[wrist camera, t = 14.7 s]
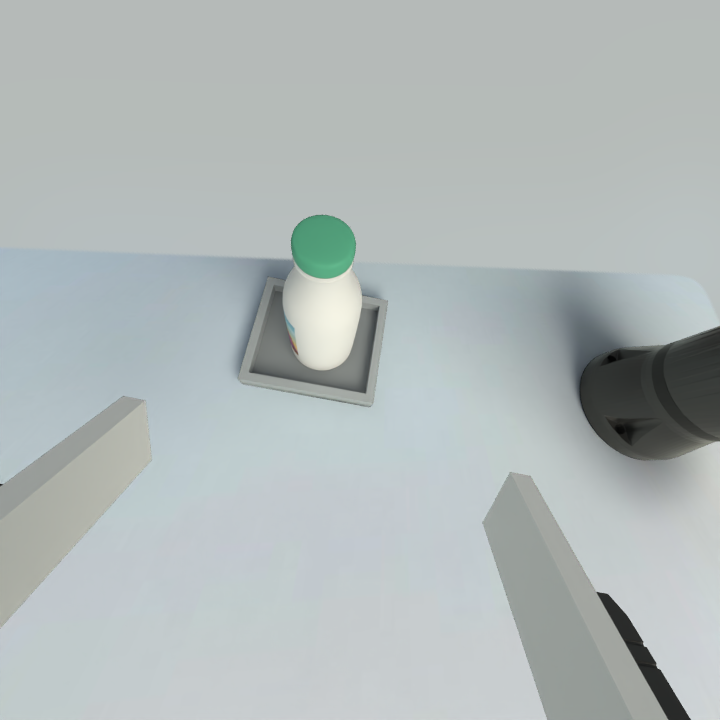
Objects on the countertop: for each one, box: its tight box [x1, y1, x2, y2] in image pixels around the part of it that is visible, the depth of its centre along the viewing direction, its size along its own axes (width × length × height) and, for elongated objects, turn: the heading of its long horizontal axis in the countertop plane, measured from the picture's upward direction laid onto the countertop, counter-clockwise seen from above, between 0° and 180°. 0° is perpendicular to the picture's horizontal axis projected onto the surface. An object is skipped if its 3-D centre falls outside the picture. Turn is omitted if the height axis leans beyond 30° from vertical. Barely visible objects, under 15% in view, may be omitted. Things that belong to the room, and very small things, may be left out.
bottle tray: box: [238, 277, 388, 407], centre depth 41 cm, size 16×14×2 cm
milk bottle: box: [283, 215, 362, 371], centre depth 32 cm, size 8×8×20 cm
